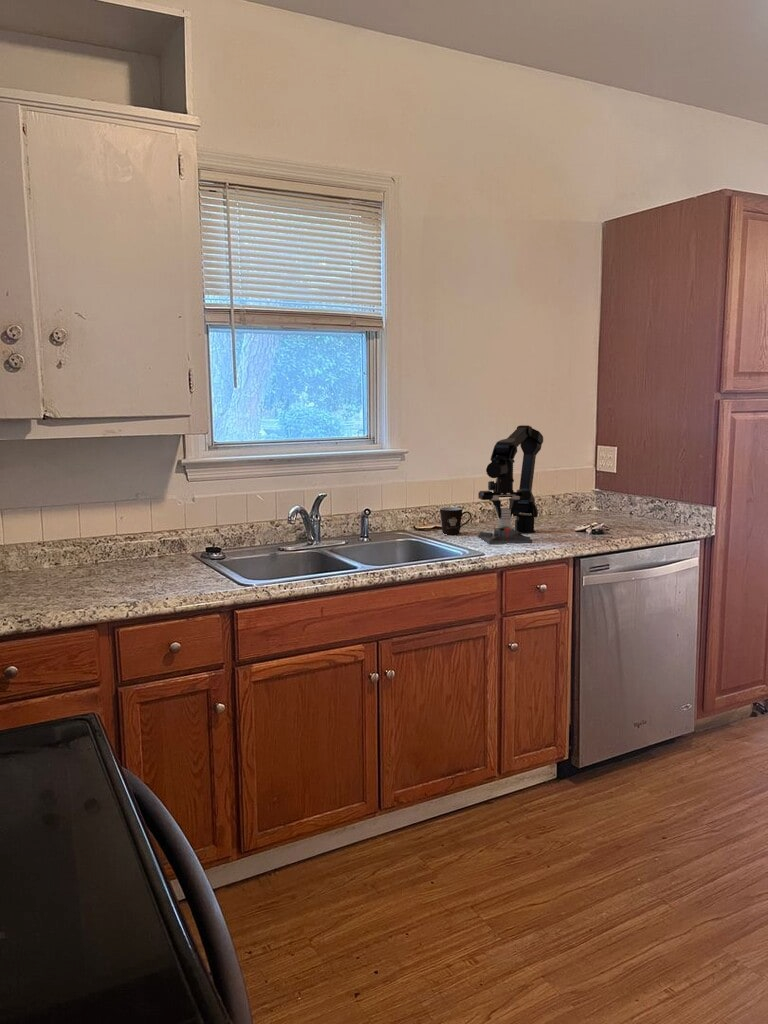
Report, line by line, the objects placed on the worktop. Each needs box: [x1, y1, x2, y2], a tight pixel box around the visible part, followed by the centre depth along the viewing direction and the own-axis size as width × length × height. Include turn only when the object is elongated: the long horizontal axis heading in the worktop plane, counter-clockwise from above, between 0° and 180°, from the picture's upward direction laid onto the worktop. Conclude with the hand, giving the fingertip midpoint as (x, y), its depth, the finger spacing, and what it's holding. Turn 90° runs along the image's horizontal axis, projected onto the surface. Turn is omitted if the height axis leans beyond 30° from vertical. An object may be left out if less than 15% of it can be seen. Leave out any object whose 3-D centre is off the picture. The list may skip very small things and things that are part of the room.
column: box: [497, 507, 512, 528], centre depth 287 cm, size 4×4×7 cm
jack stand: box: [477, 527, 533, 545], centre depth 288 cm, size 16×16×5 cm
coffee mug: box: [439, 506, 473, 536], centre depth 300 cm, size 12×9×10 cm
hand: (504, 518), depth 287 cm, fingers closed on column, 4 cm apart
